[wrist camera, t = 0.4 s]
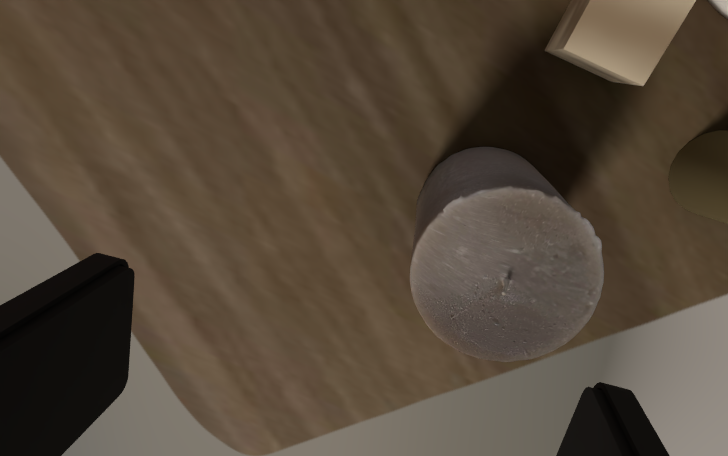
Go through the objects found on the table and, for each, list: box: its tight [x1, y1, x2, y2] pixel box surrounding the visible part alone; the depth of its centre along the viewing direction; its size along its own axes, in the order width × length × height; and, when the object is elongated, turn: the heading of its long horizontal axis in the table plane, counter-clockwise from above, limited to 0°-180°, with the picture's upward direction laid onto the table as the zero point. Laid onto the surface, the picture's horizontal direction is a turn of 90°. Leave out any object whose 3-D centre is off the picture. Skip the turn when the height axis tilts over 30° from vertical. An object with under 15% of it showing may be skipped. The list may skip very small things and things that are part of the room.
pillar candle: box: [410, 147, 604, 362], centre depth 32 cm, size 10×10×15 cm
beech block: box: [544, 0, 696, 86], centre depth 31 cm, size 5×5×6 cm
